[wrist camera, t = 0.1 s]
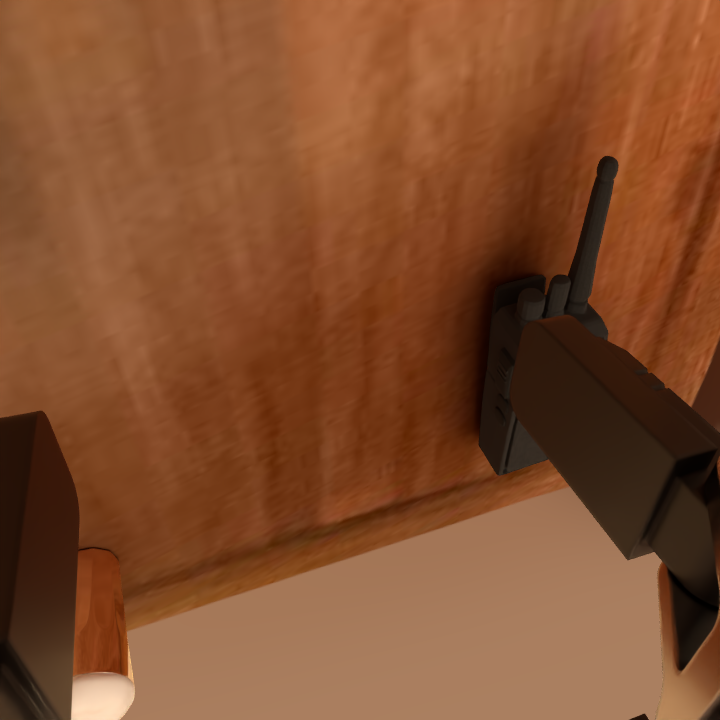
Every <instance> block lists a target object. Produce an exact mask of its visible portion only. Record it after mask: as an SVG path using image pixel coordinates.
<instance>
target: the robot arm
mask: <svg viewBox="0 0 720 720" xmlns="http://www.w3.org/2000/svg"><path fill="white" fill-rule="evenodd" d="M664 385H665V384H664V383H663V382H662V381H660V380H659V379H658V378H657V377H656V376H655V375H654V374H652V373H648V372H647V368H646V367H644V366H643V365H642V364H641V363H640V362H639V361H638V360H637V359H635V358H634V357H633V356H632V355H631V354H630V353H629V352H627V351H626V350H624V349H622V348H620V347H618V346H616V345H614V344H612V343H610V342H609V341H607V340H605V339H603V338H601V337H596V336H595V335H593V334H592V333H591V332H590V331H589V330H588V329H587V328H586V327H585V326H584V325H582V324H581V323H580V322H579V321H578V320H577V319H576V318H574V317H573V316H571V315H562V316H557V317H552V318H546V319H541V320H535V321H530V322H528V323H527V324H526V325H525V326H524V328H523V331H522V334H521V339H520V343H519V348H518V352H517V357H516V361H515V366H514V371H513V375H512V380H511V384H510V401H511V405H512V408H513V411H514V414H515V415H516V417H517V419H518V420H519V422H520V423H521V424H522V426H523V427H524V428H525V429H526V431H527V432H528V433H529V435H530V436H531V437H532V438H533V440H534V441H535V442H536V444H537V445H538V446H539V447H540V449H541V450H542V451H543V452H544V454H545V455H546V456H547V458H548V459H549V460H550V461H551V463H552V464H553V465H554V467H555V468H556V469H557V470H558V472H559V473H560V474H561V476H562V477H563V478H564V479H565V481H566V482H567V483H568V484H569V486H570V487H571V488H572V489H573V491H574V492H575V493H576V495H577V496H578V497H579V499H580V500H581V501H582V502H583V504H584V505H585V506H586V508H587V509H588V510H589V511H590V513H591V514H592V515H593V517H594V518H595V519H596V520H597V522H598V523H599V524H600V525H601V527H602V528H603V529H604V531H605V532H606V533H607V534H608V536H609V537H610V538H611V540H612V541H613V542H614V543H615V545H616V546H617V547H618V548H619V550H620V551H621V552H622V554H623V555H624V556H625V558H626V559H627V560H630V559H633V558H637V557H639V556H643V555H646V554H649V553H652V552H655V553H656V554H657V555H658V557H659V558H660V559H661V560H662V563H661V564H660V566H659V569H658V573H657V580H658V599H659V616H660V633H661V651H662V668H663V685H662V693H661V698H660V701H659V704H658V708H657V712H656V717H655V720H720V433H719V432H718V431H717V430H716V429H715V428H714V427H713V426H711V425H710V424H709V423H708V422H707V421H706V420H705V419H703V418H702V417H701V416H700V415H699V414H698V413H697V412H696V411H694V410H693V409H692V408H691V407H690V406H689V405H688V404H686V403H685V402H684V401H683V400H682V399H681V398H680V397H679V396H677V395H676V394H675V393H674V392H673V391H672V390H671V389H669V388H667V389H666V388H665V386H664ZM78 541H79V506H78V499H77V493H76V489H75V485H74V482H73V479H72V476H71V474H70V471H69V469H68V467H67V464H66V462H65V459H64V457H63V454H62V452H61V449H60V447H59V444H58V442H57V439H56V437H55V434H54V432H53V429H52V427H51V424H50V422H49V420H48V418H47V416H46V414H45V413H44V412H43V411H36V412H31V413H26V414H20V415H15V416H9V417H4V418H0V720H71V709H72V685H73V661H74V637H75V613H76V589H77V565H78ZM630 720H649V719H648V718H647V716H646V715H645V714H642V715H640V716H637V717H635V718H632V719H630Z"/></svg>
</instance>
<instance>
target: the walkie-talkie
mask: <svg viewBox="0 0 720 720" xmlns="http://www.w3.org/2000/svg"><path fill="white" fill-rule="evenodd" d="M617 171H618V162H617V160H616V159H615V158H613V157H611V156H605V157H603V158H602V159H601V160H600V162H599V164H598V167H597V177H596V179H595V182H594V186H593V189H592V192H591V196H590V200H589V204H588V208H587V212H586V216H585V220H584V223H583V227H582V231H581V235H580V238H579V242H578V246H577V250H576V253H575V256H574V259H573V262H572V265H571V268H570V271H569V274H568V276H565V275H556V276H554V277H553V278H552V280H551V281H550V284H549V288H548V293H547V295H544V293H545V284H546V278H545V276H544V275H536V276H532V277H528V278H525V279H521V280H517V281H514V282H510V283H506V284H503V285H500V286H498V287H497V288H496V289H495V294H494V300H493V308H492V316H491V324H490V337H489V354H488V362H487V366H488V369H487V370H486V376H485V383H484V391H483V400H482V411H481V422H480V434H479V446H480V448H481V450H482V451H483V453H484V455H485V456H486V458H487V459H488V461H489V463H490V464H491V466H492V468H493V469H494V471H495V472H496V474H497V475H504V474H507V473H510V472H513V471H516V470H519V469H522V468H524V467H527V466H530V465H533V464H536V463H539V462H542V461H545V460H548V458H547V456H546V455H545V454H544V452H543V451H542V450H541V449H540V447H539V446H538V445H537V444H536V442H535V441H534V440H533V438H532V437H531V436H530V435H529V433H528V432H527V431H526V429H525V428H524V427H523V426H522V424H521V423H520V422H519V420H518V419H517V417H516V415H515V414H514V411H513V408H512V405H511V401H510V384H511V380H512V375H513V371H514V366H515V361H516V357H517V352H518V348H519V343H520V339H521V334H522V331H523V328H524V326H525V325H526V324H527V323H528V322H530V321H535V320H541V319H546V318H552V317H557V316H562V315H571V316H573V317H574V318H576V319H577V320H578V321H579V322H580V323H581V324H582V325H584V326H585V327H586V328H587V329H588V330H589V331H590V332H591V333H592V334H593V335H595V336H596V337H601V338H603V339H605V340H607V338H608V330H607V328H606V326H605V324H604V322H603V320H602V318H601V317H600V316H599V315H598V314H597V312H596V311H595V310H594V309H593V308H592V307H591V306H590V305H589V303H588V298H589V296H590V295H591V291H592V285H593V279H594V273H595V267H596V261H597V256H598V252H599V247H600V243H601V238H602V234H603V230H604V225H605V221H606V217H607V212H608V208H609V204H610V199H611V195H612V189H613V183H614V180H613V179H614V178H615V177H616V174H617Z"/></svg>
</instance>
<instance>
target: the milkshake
mask: <svg viewBox="0 0 720 720" xmlns="http://www.w3.org/2000/svg"><path fill="white" fill-rule="evenodd" d="M134 696H135V688H134V680H133V674H132V667H131V660H130V653H129V647H128V639H127V630H126V621H125V612H124V603H123V594H122V585H121V576H120V567H119V560H118V559H117V558H116V557H115V556H114V555H113V554H112V553H111V552H110V551H107V550H101V549H95V548H90V549H86V550H81V551H78V565H77V589H76V613H75V637H74V661H73V685H72V709H71V720H120V718H122V716H123V715H124V714H125V713H126V712H127V710H128V709H129V707H130V706H131V704H132V702H133V700H134Z"/></svg>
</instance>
